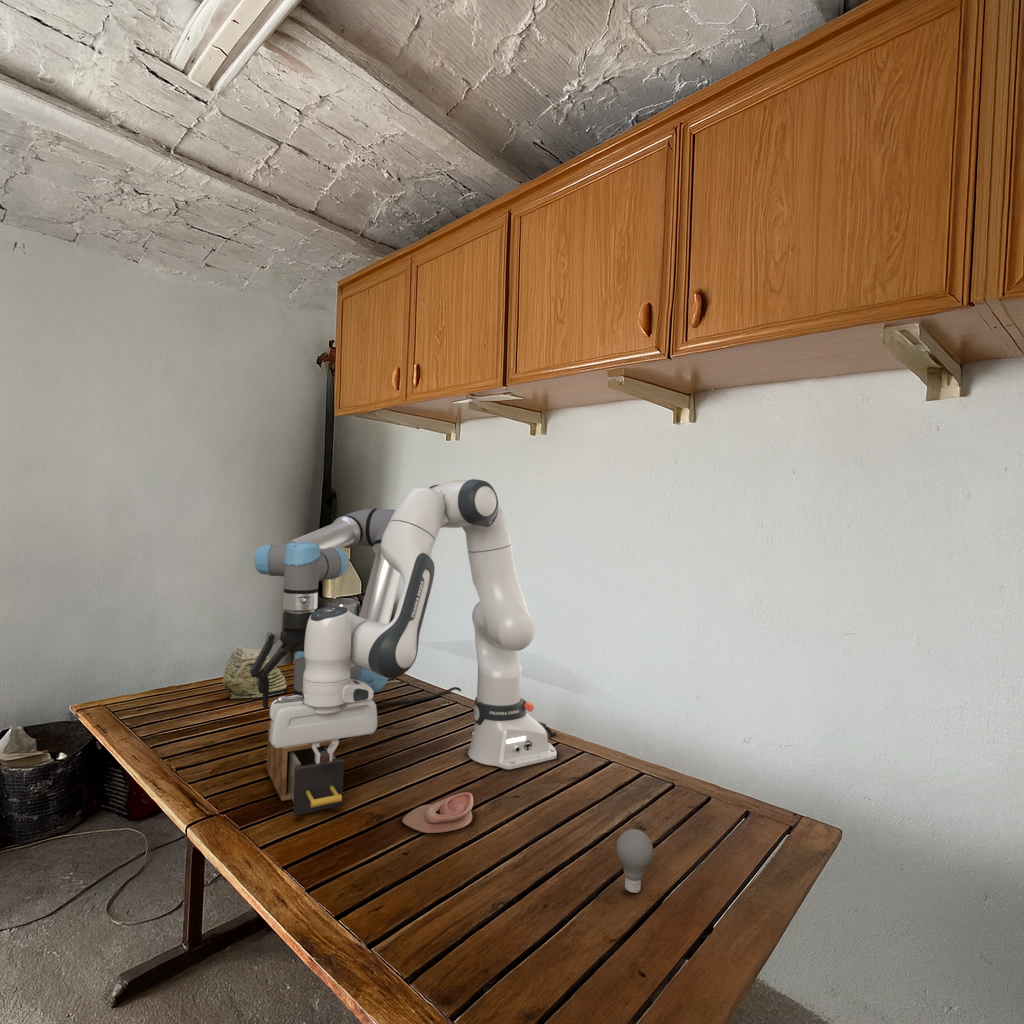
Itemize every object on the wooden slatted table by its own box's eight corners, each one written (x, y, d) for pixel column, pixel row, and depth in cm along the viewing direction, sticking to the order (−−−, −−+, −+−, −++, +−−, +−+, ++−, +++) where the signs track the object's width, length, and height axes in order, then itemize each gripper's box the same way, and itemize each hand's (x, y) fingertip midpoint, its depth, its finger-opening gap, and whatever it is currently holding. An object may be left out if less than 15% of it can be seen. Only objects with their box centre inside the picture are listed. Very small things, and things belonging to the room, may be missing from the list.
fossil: (218, 695, 195) (220, 647, 195) (278, 685, 208) (279, 640, 207) (228, 703, 189) (230, 653, 188) (289, 692, 201) (290, 645, 201)
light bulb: (610, 879, 108) (613, 822, 108) (644, 879, 109) (647, 822, 109) (619, 902, 102) (622, 840, 102) (655, 901, 103) (658, 840, 103)
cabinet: (332, 790, 137) (334, 740, 136) (281, 801, 131) (283, 748, 131) (313, 761, 151) (315, 715, 151) (266, 769, 146) (268, 721, 145)
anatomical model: (396, 808, 122) (417, 782, 133) (395, 828, 122) (416, 801, 133) (463, 818, 119) (478, 791, 130) (462, 839, 119) (477, 810, 131)
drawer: (350, 818, 123) (352, 772, 123) (300, 829, 119) (302, 781, 118) (322, 775, 142) (324, 734, 142) (278, 783, 137) (279, 741, 137)
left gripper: (243, 616, 135) (240, 715, 135) (358, 610, 147) (355, 701, 148) (238, 610, 141) (235, 705, 141) (349, 605, 154) (346, 691, 154)
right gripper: (273, 702, 115) (270, 778, 115) (381, 690, 125) (378, 759, 126) (266, 693, 120) (264, 765, 121) (371, 681, 131) (368, 747, 131)
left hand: (296, 703), depth 145 cm, fingers open, 13 cm apart
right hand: (323, 762), depth 123 cm, fingers closed
